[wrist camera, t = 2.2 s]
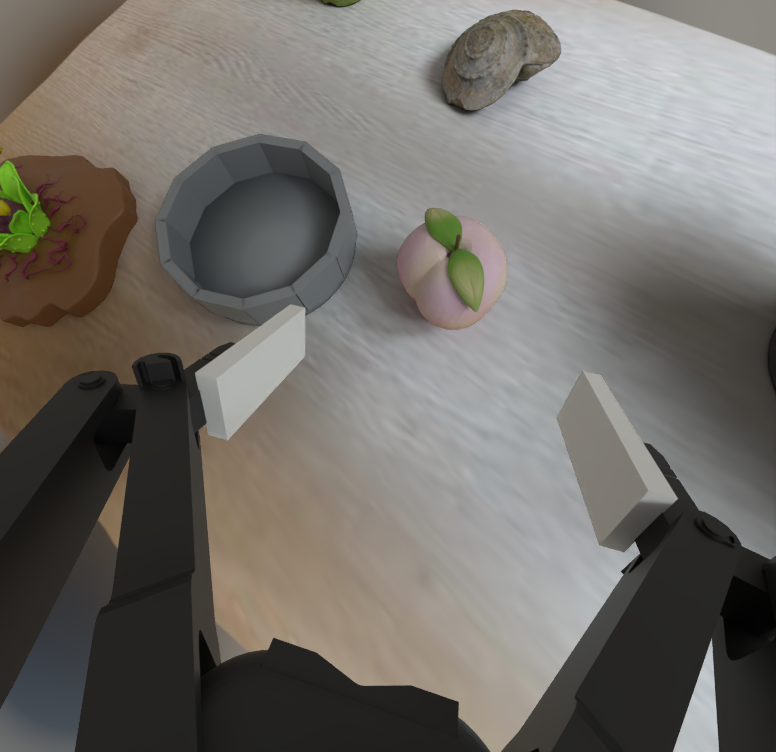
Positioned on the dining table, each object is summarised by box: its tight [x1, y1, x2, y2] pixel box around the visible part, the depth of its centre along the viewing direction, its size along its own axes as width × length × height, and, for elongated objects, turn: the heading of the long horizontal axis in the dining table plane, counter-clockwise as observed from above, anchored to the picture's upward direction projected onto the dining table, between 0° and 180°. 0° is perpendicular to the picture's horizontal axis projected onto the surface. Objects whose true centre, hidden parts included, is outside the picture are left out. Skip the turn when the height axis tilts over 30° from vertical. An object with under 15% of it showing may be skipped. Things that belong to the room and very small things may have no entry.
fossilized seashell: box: [442, 10, 561, 110], centre depth 36 cm, size 11×11×7 cm
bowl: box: [155, 134, 357, 326], centre depth 33 cm, size 18×18×4 cm
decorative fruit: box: [397, 208, 508, 330], centre depth 27 cm, size 9×8×10 cm
